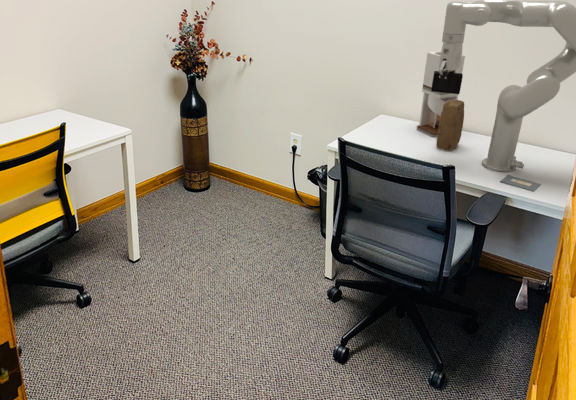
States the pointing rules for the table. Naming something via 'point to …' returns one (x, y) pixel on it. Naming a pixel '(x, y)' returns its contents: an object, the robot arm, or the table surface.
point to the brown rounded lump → (450, 125)
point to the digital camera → (452, 84)
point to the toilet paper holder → (433, 96)
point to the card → (520, 183)
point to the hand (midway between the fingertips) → (445, 86)
